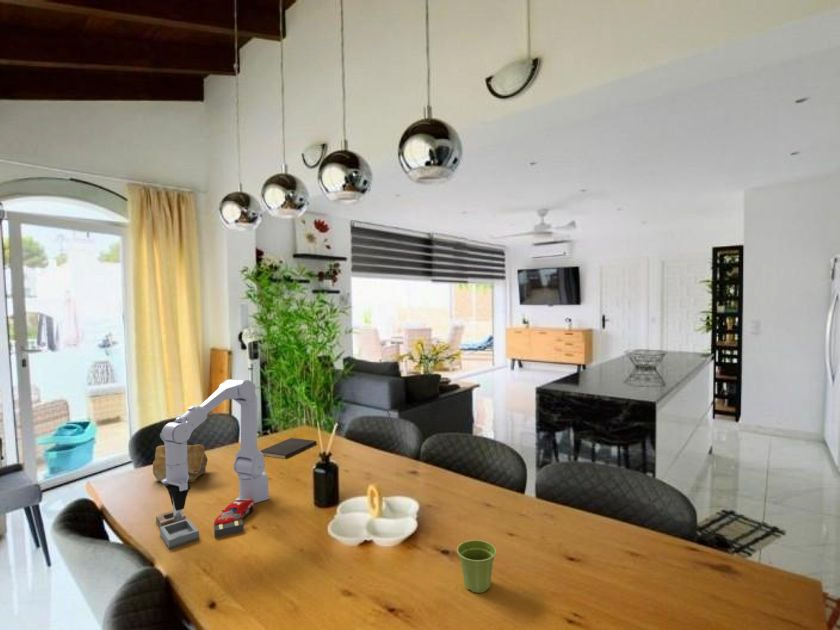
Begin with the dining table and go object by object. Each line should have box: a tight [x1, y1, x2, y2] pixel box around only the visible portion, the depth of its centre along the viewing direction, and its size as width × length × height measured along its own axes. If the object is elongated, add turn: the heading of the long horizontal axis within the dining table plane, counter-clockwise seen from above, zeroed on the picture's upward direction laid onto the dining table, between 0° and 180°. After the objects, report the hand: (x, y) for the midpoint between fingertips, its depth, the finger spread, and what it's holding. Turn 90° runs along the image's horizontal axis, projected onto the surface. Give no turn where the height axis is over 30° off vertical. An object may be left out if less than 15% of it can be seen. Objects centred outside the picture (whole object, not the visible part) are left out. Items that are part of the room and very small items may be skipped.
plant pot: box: [456, 539, 497, 594], centre depth 108 cm, size 9×9×9 cm
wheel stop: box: [213, 519, 244, 539], centre depth 137 cm, size 8×3×3 cm, turn 117°
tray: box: [159, 518, 200, 550], centre depth 135 cm, size 8×11×2 cm
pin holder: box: [155, 510, 187, 528], centre depth 144 cm, size 7×7×2 cm
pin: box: [172, 497, 183, 521], centre depth 134 cm, size 3×3×7 cm
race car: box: [213, 499, 255, 527], centre depth 146 cm, size 16×7×5 cm, turn 168°
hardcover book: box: [259, 437, 317, 460], centre depth 217 cm, size 16×23×2 cm
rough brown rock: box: [152, 443, 208, 483], centre depth 184 cm, size 23×17×15 cm
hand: (178, 507), depth 134 cm, fingers closed on pin, 3 cm apart
